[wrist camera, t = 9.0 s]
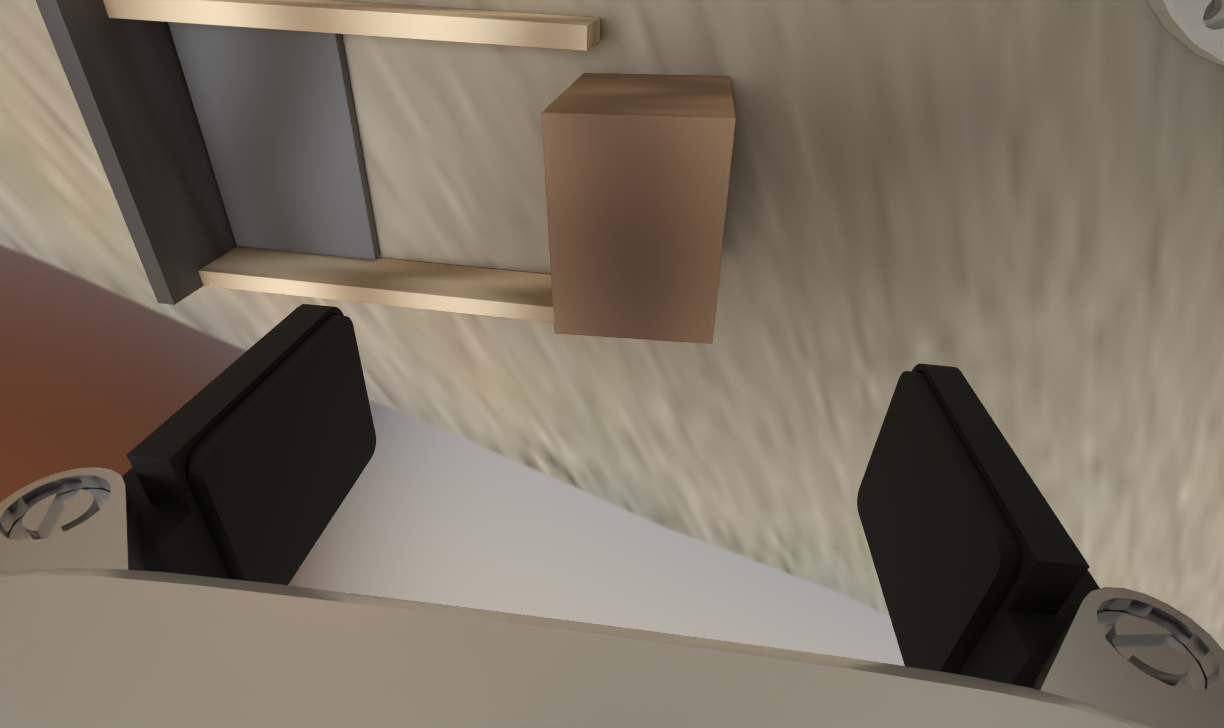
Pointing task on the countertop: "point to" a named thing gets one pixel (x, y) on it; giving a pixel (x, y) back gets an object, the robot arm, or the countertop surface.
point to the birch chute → (269, 143)
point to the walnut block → (638, 204)
